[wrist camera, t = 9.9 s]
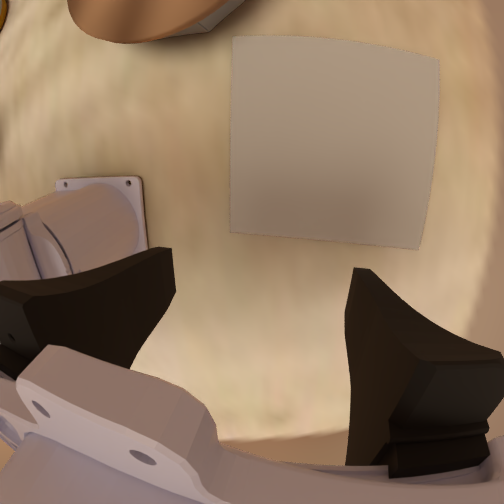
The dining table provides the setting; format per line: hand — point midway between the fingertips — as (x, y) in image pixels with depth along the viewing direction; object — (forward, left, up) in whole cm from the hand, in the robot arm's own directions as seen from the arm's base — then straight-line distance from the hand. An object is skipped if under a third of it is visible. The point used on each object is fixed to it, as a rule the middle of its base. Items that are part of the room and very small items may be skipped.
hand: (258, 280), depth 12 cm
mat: (+3, +5, -10) cm, 12 cm away
